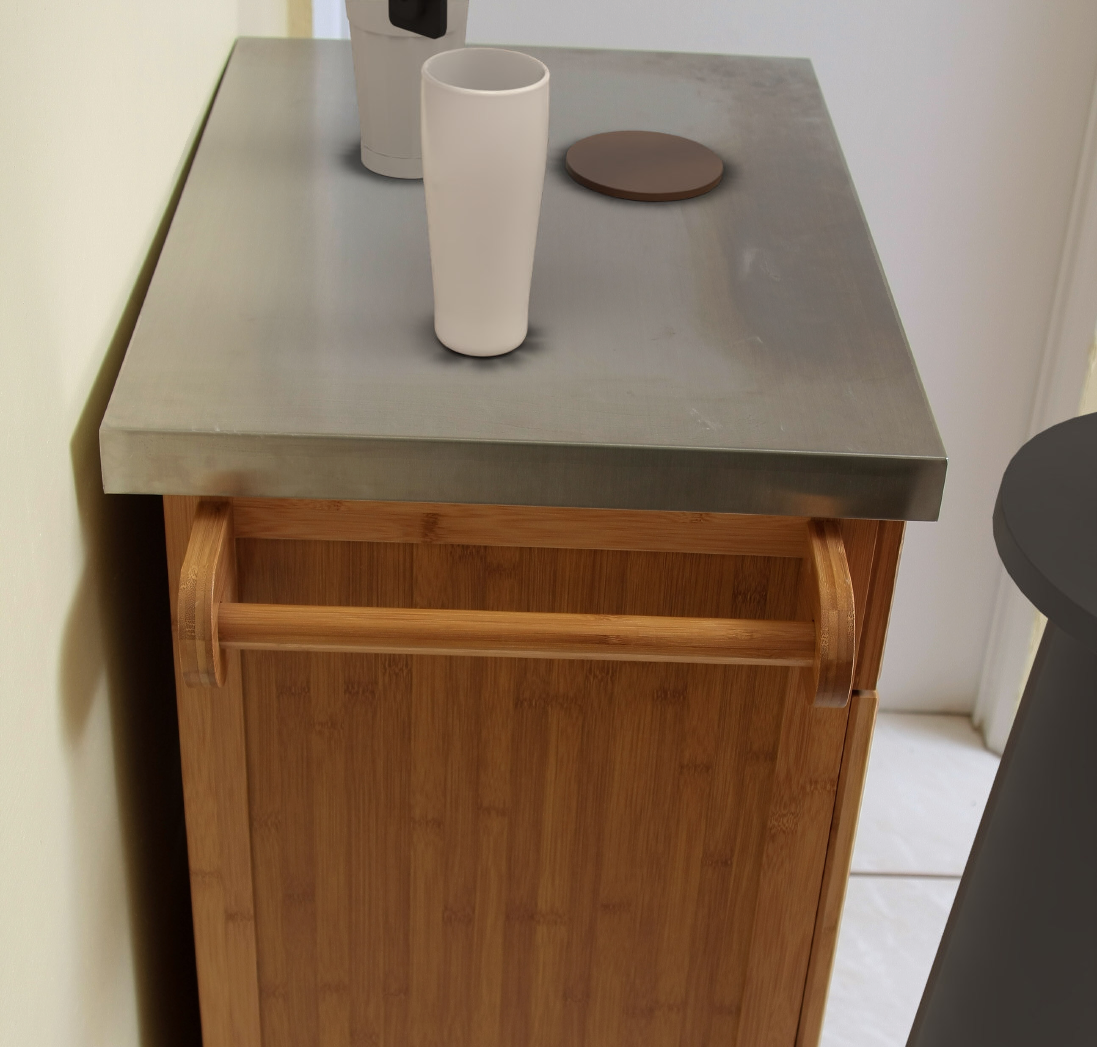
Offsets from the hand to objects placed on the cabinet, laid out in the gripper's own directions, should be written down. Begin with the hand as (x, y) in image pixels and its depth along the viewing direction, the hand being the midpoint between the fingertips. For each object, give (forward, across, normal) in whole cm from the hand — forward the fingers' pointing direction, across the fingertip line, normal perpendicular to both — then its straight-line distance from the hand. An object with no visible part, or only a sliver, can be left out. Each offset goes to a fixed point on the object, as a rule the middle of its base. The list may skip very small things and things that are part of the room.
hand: (481, 7), depth 77 cm
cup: (+18, +17, +20) cm, 32 cm away
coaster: (+18, +27, +6) cm, 33 cm away
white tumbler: (+18, 0, 0) cm, 18 cm away
